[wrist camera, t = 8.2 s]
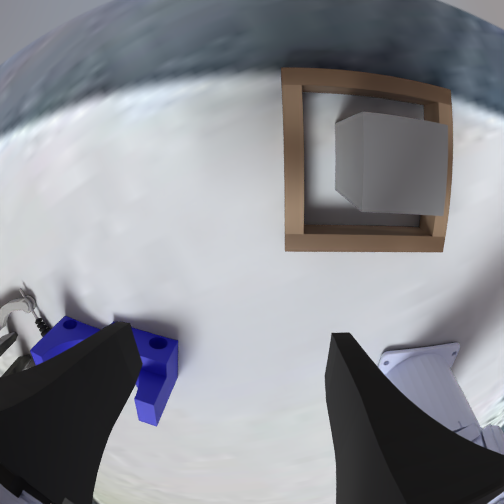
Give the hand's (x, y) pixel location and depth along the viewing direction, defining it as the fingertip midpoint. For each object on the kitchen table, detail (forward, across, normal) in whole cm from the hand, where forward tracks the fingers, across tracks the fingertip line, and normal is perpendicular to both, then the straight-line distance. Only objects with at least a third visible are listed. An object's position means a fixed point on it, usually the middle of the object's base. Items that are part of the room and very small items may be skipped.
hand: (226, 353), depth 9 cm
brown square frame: (+9, -7, -6) cm, 13 cm away
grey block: (+10, -7, -6) cm, 13 cm away
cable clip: (+10, +13, +8) cm, 18 cm away
